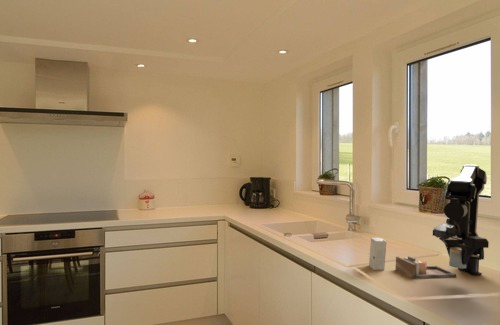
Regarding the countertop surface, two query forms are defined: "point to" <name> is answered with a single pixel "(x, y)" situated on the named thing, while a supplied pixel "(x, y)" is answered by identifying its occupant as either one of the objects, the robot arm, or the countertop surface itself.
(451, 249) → the slate jar
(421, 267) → the jar
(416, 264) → the pusher
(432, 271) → the lane
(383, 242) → the skincare box
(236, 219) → the countertop surface
